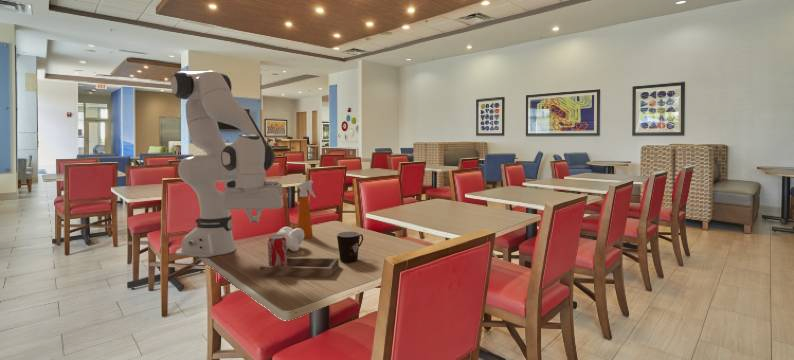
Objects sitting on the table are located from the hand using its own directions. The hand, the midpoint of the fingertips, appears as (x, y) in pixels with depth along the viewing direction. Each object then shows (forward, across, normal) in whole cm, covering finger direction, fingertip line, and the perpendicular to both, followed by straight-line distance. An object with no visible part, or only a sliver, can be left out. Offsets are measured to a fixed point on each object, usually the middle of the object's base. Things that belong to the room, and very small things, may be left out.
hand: (254, 221), depth 144 cm
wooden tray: (+17, -15, 0) cm, 23 cm away
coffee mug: (+18, -31, -14) cm, 38 cm away
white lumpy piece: (+17, -2, -26) cm, 32 cm away
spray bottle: (+17, -4, -48) cm, 50 cm away
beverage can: (+17, -7, 0) cm, 19 cm away
